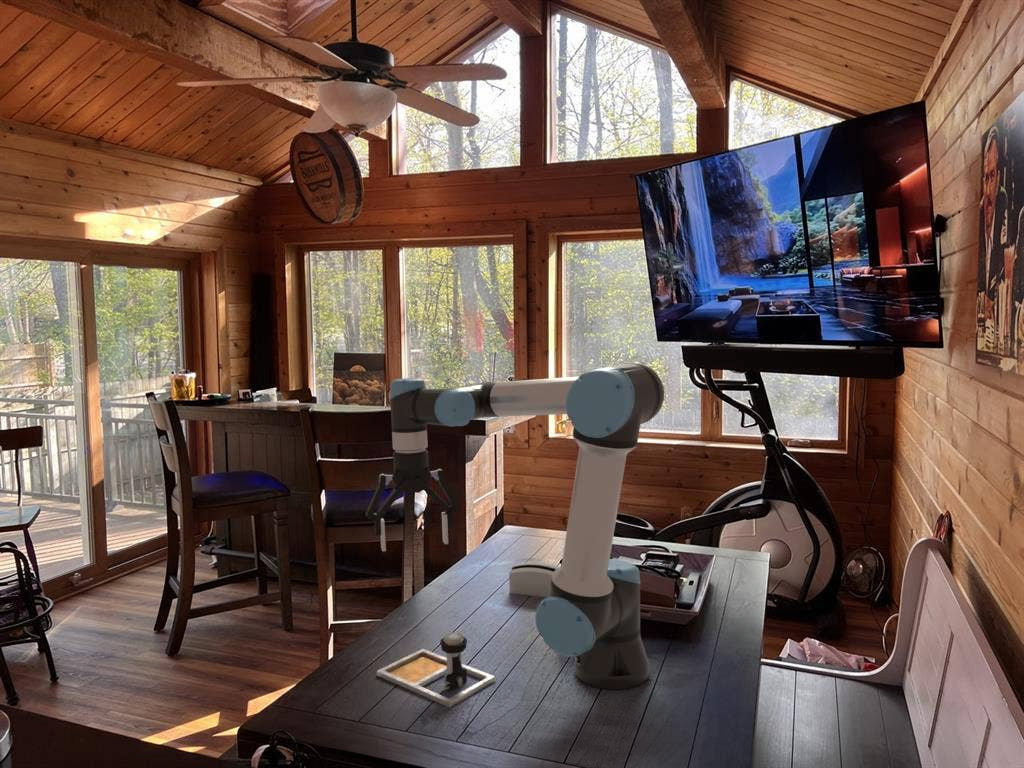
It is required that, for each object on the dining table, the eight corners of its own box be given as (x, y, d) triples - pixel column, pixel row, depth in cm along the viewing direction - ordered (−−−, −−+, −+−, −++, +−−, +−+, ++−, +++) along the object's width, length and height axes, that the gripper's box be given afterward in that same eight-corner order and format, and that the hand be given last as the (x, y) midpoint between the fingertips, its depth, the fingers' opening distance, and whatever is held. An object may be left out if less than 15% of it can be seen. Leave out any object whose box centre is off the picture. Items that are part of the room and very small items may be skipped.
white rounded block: (574, 593, 201) (570, 562, 197) (570, 605, 197) (566, 574, 193) (515, 586, 207) (509, 556, 203) (509, 598, 203) (504, 567, 199)
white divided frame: (495, 681, 154) (494, 676, 154) (449, 707, 144) (449, 702, 144) (423, 653, 168) (422, 648, 168) (376, 675, 158) (376, 670, 158)
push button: (452, 696, 149) (451, 646, 148) (431, 689, 152) (430, 640, 151) (473, 682, 154) (472, 634, 153) (452, 675, 157) (451, 628, 156)
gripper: (463, 442, 172) (467, 535, 174) (350, 451, 166) (355, 547, 167) (470, 448, 165) (474, 544, 167) (352, 457, 158) (358, 557, 160)
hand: (414, 546), depth 167 cm, fingers open, 13 cm apart
